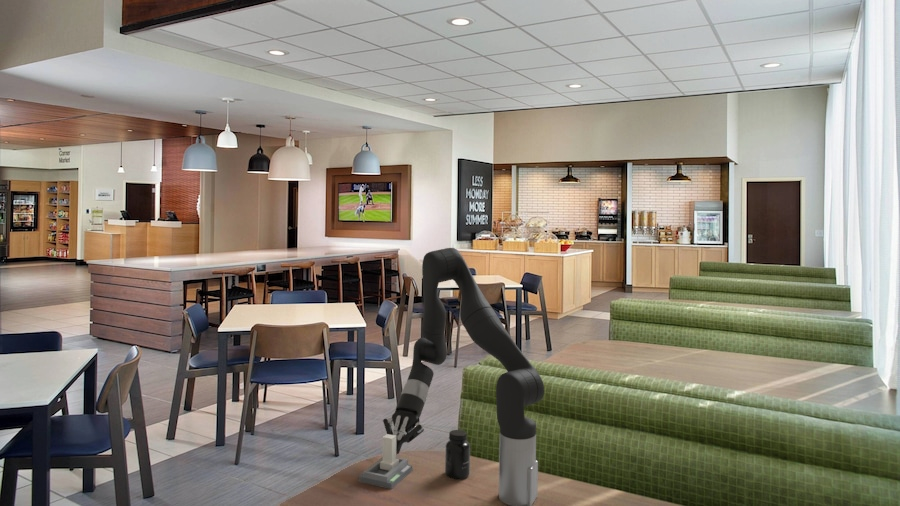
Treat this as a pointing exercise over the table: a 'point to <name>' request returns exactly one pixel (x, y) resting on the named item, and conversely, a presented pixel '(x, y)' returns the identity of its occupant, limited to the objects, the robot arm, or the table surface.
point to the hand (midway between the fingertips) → (392, 454)
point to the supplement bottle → (457, 455)
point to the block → (389, 453)
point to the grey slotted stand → (386, 474)
